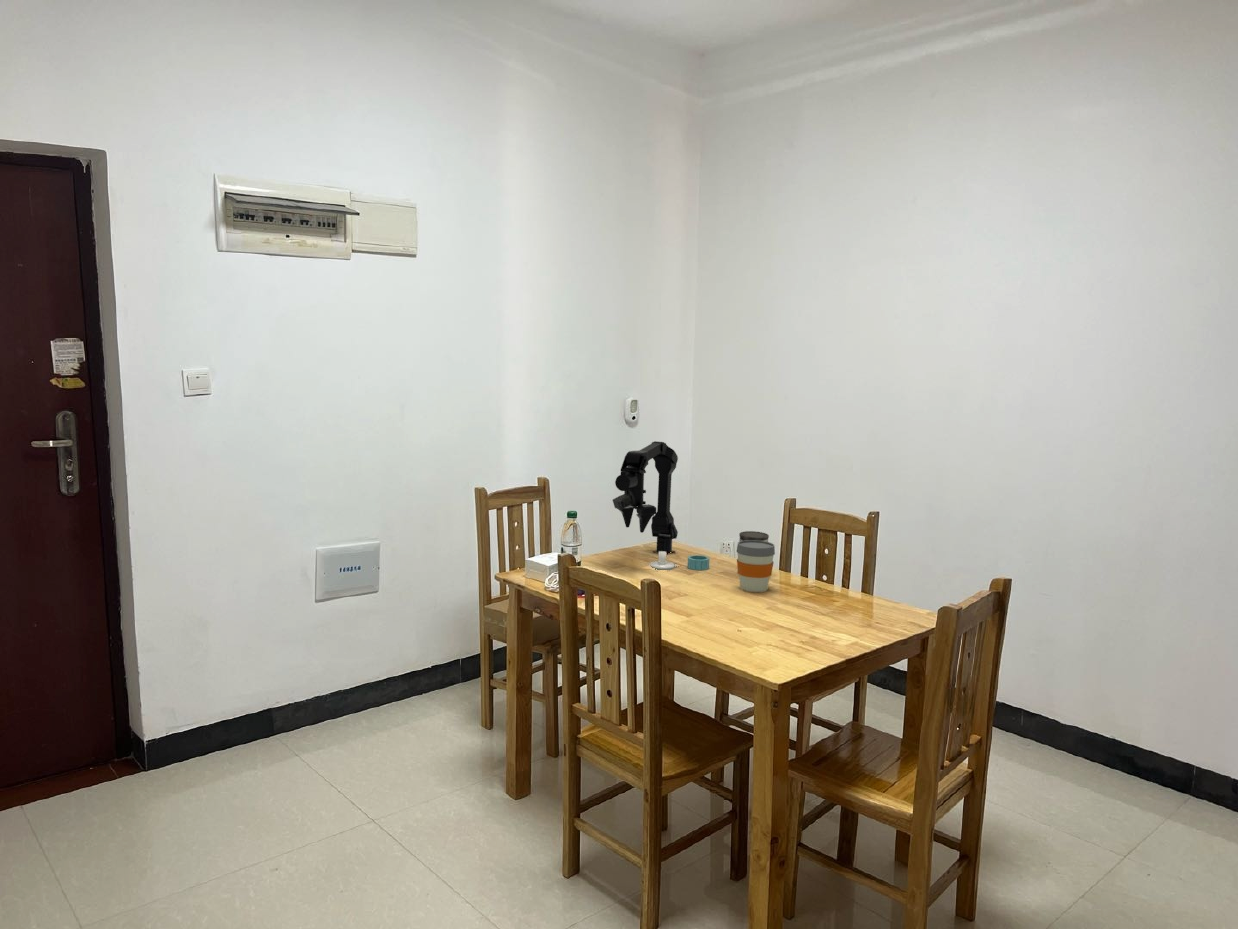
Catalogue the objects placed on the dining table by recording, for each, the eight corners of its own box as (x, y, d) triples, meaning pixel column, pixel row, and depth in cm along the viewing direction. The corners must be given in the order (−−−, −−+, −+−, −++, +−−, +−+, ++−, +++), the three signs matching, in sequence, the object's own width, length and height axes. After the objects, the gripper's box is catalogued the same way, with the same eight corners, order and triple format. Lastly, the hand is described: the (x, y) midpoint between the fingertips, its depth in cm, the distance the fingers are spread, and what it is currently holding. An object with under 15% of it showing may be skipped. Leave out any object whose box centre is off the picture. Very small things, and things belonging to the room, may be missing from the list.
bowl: (693, 564, 315) (694, 554, 315) (712, 568, 311) (713, 557, 310) (683, 568, 309) (683, 558, 308) (702, 572, 304) (702, 561, 304)
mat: (660, 561, 319) (660, 560, 318) (683, 565, 313) (683, 564, 313) (639, 568, 307) (639, 567, 307) (663, 573, 301) (663, 572, 301)
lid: (657, 562, 316) (658, 547, 315) (679, 565, 311) (679, 551, 310) (644, 566, 309) (645, 552, 308) (666, 570, 304) (666, 556, 303)
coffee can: (748, 578, 299) (749, 538, 297) (732, 570, 308) (733, 532, 306) (772, 575, 303) (774, 536, 301) (756, 568, 312) (758, 530, 311)
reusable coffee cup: (771, 584, 291) (773, 541, 289) (774, 594, 279) (776, 549, 277) (734, 582, 293) (736, 539, 291) (735, 592, 280) (737, 547, 278)
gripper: (602, 484, 309) (601, 527, 311) (631, 493, 293) (630, 537, 296) (628, 482, 315) (627, 524, 317) (657, 490, 299) (656, 534, 302)
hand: (634, 529), depth 308 cm, fingers open, 9 cm apart
